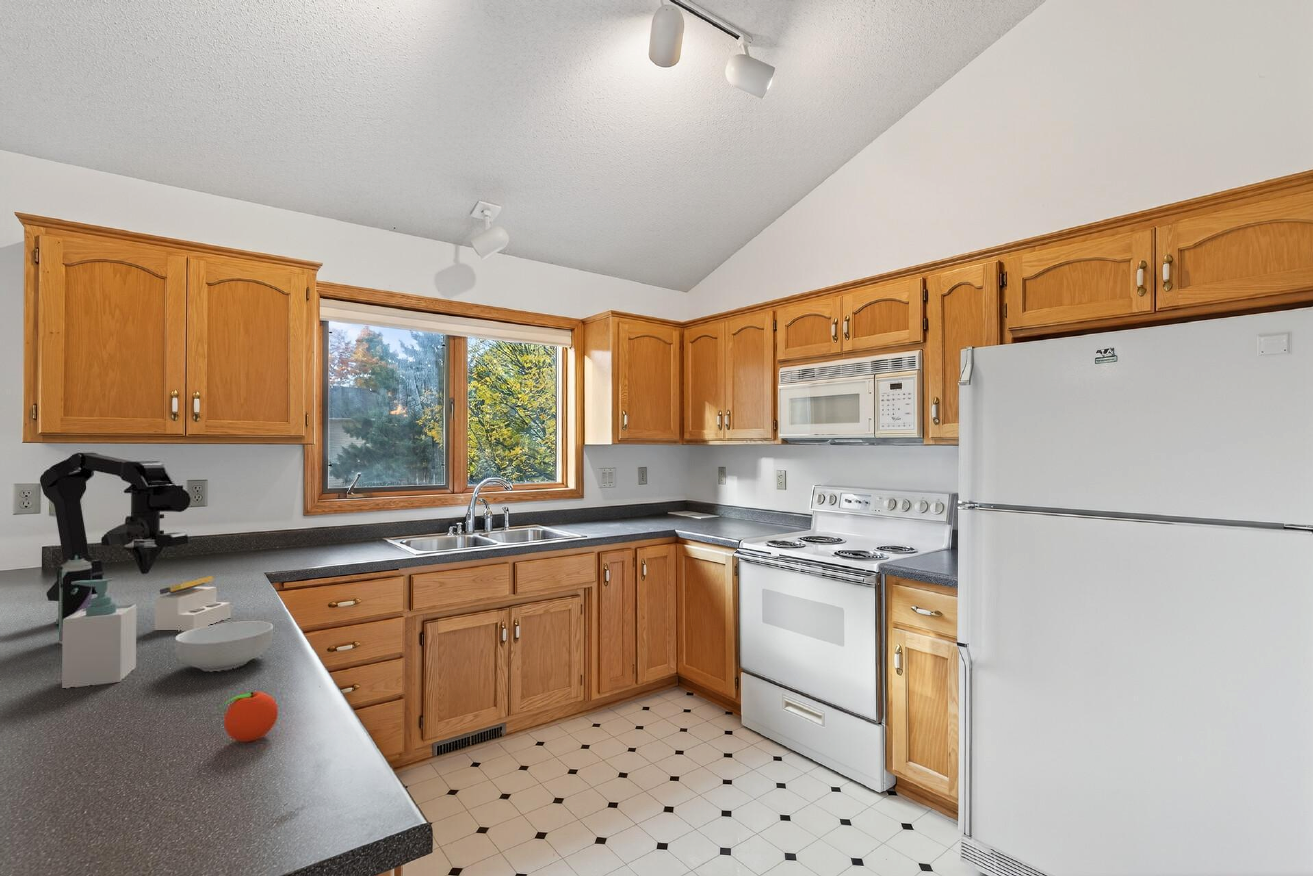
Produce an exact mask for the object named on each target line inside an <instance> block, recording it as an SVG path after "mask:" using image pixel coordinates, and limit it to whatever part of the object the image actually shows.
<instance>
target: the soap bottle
mask: <svg viewBox="0 0 1313 876" xmlns="http://www.w3.org/2000/svg"><path fill="white" fill-rule="evenodd" d="M115 579H116V578H115V577H112V578H103V580H82V581H75V582H71V584H72V585H73V584H78V585H84V586H90V587H94V586H95V591H96V592H97V594H96V596H95V597H91V605H88V606H87V607H86V608H84V609H81V610H80V611H78V612H76V613H74V614H72V615H70V616H68V617H67V618H65V619H63V644H61V646H62V652H61V655H62V658H61V659H62V660H61V661H62V662H61V664H62V665H61V666H62V668H61V688H66V689H71V688H70V687H75V688H82V687H91V686H90V685H92V686H99V685H106V684H115V683H116V682H117V683H120V682H121V681H123V680H122V679H125V678H126V677H127V676H128V675H129V674H131V671H132V670H133V671H134V670H135V669H136V667H137V605H136V604H134V603H133V604H124V605H117V603H116V602H114V601H112V596H111V595H106V592H107V590H108V582H111V581H114V580H115ZM133 671H132V672H133Z"/></svg>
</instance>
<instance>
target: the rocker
mask: <svg viewBox="0 0 1313 876" xmlns="http://www.w3.org/2000/svg"><path fill="white" fill-rule="evenodd" d="M212 581H214V579H213V575H210V576H206V577H202V578H199V579H194V580H191V581H186V582H183V583H180V584H179V583H178V584H175V585H172V586H168V587H165V588H161V589H159V593H160V595H165V594H167V593H168V594H170V593H171V594H172V593H176V592H180V591H183V590H187V589H190V588H194V587H202V586H204V585H205V583H208V582H212Z"/></svg>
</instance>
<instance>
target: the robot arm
mask: <svg viewBox="0 0 1313 876" xmlns="http://www.w3.org/2000/svg"><path fill="white" fill-rule="evenodd" d="M95 472H98V473H104V474H109V475H114V476H118V477H119V478H120V479H121V480H122V481H123V482H126V483H128V484H129V486H128V487H126V488H125V489H124V490H123V493H124V494H130V515H129V516H126V517H125V519H124V523H123V524H120V525H118V526H115V527H113V528H112V529H110V530H108V531H107V532H106V533H105V534H103V536H102V537H101V543H100V546H102V547H103V546H105V547H110V546H111V547H112V546H115V545H120V546H122V550H126V551H128V552H129V553H130V554H131V555H132V557H133V558H134V560H135V562H136V564H137V566H138V569H139V571H140V573H141V575H147V574H149V572H150V570H151V569H152V567H153V566H154V563H155V562H156V560H157V558H159V557H158V556H160V554H161V553H162V551H163V549H164V548H165V547H166V548H167V547H168V548H169V547H176V546H181V545H186V544H189V536H188V534H187V533H186V532H167V533H165V530H164V529H163V530H161V528H160V527H161V519H165V513H163V512H167V513H182V512H184V511H186V510H187V509H188V508H189V506H190V504H191V500H192V499H191V496H190V494H189V492H188V491H187V490H186V489H184V485H183V484H182V483H181V484H176V483H175V482H174V480H173V479H172V477H171V476H170V474H169V472H168V471H167V469H166V468H165V466H164V463H163V462H162V461H159V460H145V461H144V460H143V461H142V460H139V461H137V460H129V459H128V460H127V459H122V458H119V457H112V456H109V455H103V454H98V453H96V452H76V453H74V454H71V456H69V457H68V458H66V459H64V460H62V461H59V462H58V463H55V464H53V465H52V466H50V468H48V469H46V470H45V471H44V472H43V473H42V474H41V475H40V477H39V483H40V485H41V489H42V492H43V496H45V497H46V498H47V499H48V500H49V501H50V502H51V503H52V504H53V505H54V506H53V507H54V511H55V517H56V518H55V519H56V525H57V530H58V536H59V542H60V547H61V548H60V549H61V553H62V554H61V555H62V561H61V562H60V565H59V566H58V569H57V571H56V581H55V582H54V584H52V585H51V587H50V588H49V589H48V590H47V591H46V593H45V594H46V596H47V601H49V602H58V604H57V608H58V609H57V613H58V616H57V618H56V619H55V626H58V627H59V588H60V568H61V567H60V566H61V565H63V564H65V563H66V562H68V560H69V559H70V558H71V554H81V557H82V558H84V560H85V561H87V562H90V563H91V566H92V580H104V575H105V573H104V571H103V563H102V561H101V559H95V558H93V557H92V555H90V552H89V551H90V550H89V545H88V540H87V539H88V538H87V535H86V534H87V533H86V528H85V521H84V516H83V510H82V503H81V500H82V498H83V496H84V494H85V492H86V491H87V482H88V481H89V480H91V478H93V477H94V475H95ZM161 512H162V513H161ZM92 595H97V592H96V591H95V586H94V587H92ZM92 595H91V596H92Z"/></svg>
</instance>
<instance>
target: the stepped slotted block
mask: <svg viewBox="0 0 1313 876" xmlns="http://www.w3.org/2000/svg"><path fill="white" fill-rule="evenodd" d="M217 589H218V588H217V586H198V587H194V588H190V589H187V590H183V591H180V592H176V593H172V594H171V593H170V592H169V593H168V594H167V593H165V594H162V595H159V596H156V597H155V598H154V599H155V600H154V601H155V603H154V604H155V605H154V607H155V609H154V615H155V616H154V631H155V630H178V631H177V632H186V631H188V630H192V629H196V628H200V627H204V626H208V625H210V624H213V625H215V624H214V623H216V622H218V623H220V622H219V621H221V620H224V621H226V620H225V619H227V618H230V619H231V618H232V602H226V601H225V602H222V601H218V602H217V599H218V598H217V596H218V595H217V593H218V592H217ZM227 620H228V619H227ZM221 622H222V621H221ZM216 624H217V623H216ZM180 630H181V631H180Z"/></svg>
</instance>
